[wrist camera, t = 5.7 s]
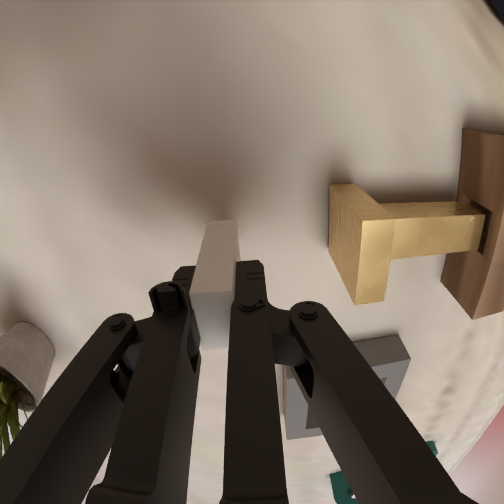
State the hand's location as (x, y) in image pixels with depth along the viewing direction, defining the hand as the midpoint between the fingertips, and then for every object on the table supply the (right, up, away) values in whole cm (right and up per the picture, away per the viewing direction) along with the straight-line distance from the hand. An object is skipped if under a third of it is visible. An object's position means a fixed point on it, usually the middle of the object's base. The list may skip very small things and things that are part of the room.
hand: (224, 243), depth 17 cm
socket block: (+22, +3, +2) cm, 22 cm away
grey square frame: (+9, -12, +9) cm, 18 cm away
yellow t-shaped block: (+11, +2, +2) cm, 11 cm away
